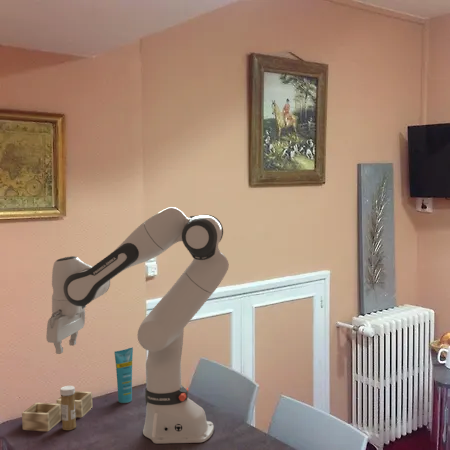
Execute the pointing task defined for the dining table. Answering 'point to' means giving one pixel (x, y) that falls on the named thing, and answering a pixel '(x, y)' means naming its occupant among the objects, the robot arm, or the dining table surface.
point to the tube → (124, 374)
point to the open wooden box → (81, 403)
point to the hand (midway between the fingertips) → (66, 349)
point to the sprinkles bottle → (68, 407)
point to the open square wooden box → (41, 416)
